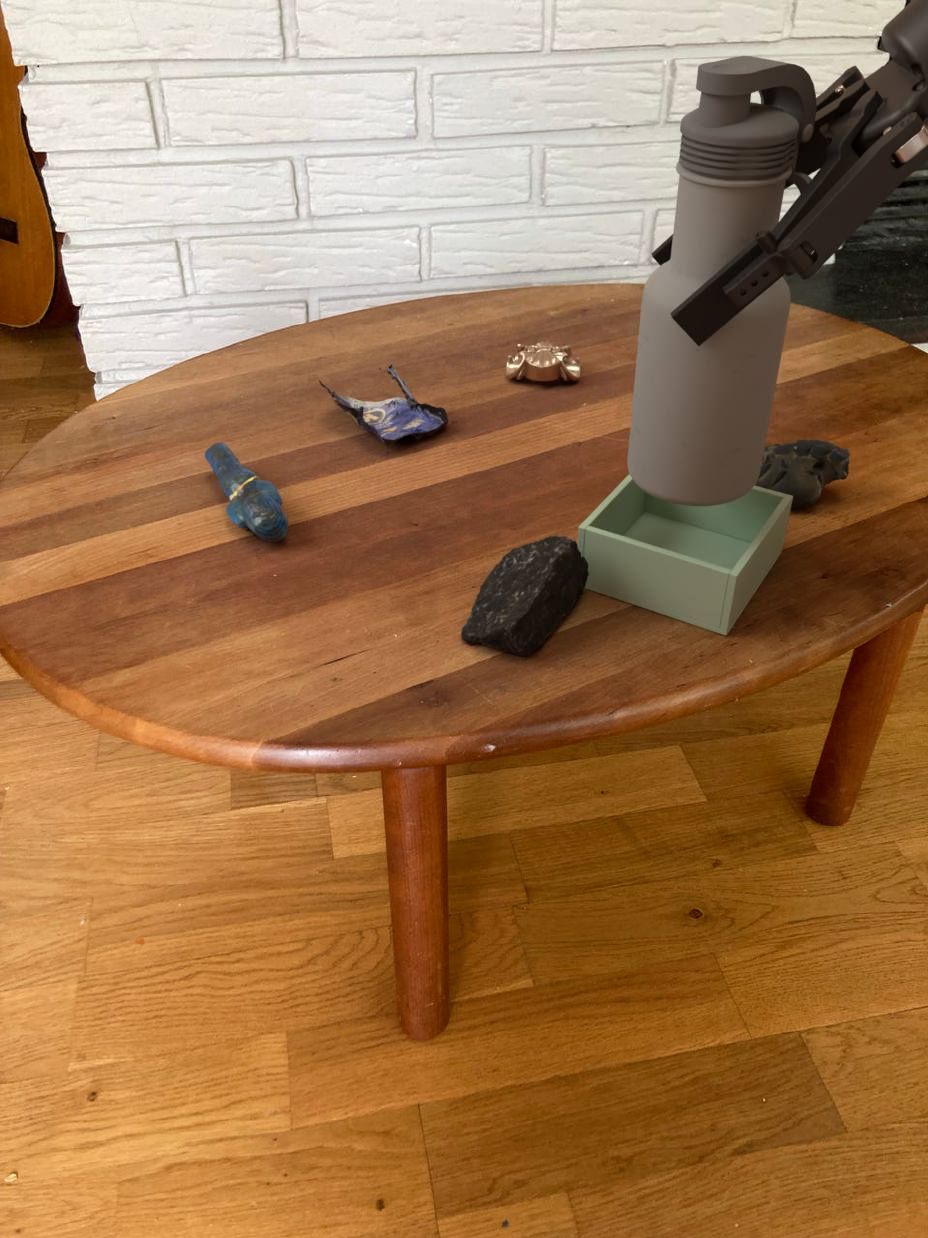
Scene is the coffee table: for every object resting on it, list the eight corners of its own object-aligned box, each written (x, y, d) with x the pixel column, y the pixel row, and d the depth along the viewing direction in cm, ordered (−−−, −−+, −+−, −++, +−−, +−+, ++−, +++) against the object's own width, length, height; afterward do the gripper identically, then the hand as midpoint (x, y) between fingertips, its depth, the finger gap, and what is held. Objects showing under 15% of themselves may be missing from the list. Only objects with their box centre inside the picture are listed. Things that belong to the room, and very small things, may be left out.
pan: (781, 553, 85) (793, 495, 82) (726, 636, 77) (737, 576, 74) (640, 511, 91) (646, 455, 87) (574, 585, 82) (578, 526, 79)
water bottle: (689, 430, 84) (740, 39, 66) (788, 477, 78) (873, 62, 60) (599, 472, 79) (628, 63, 62) (697, 527, 73) (760, 90, 56)
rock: (448, 642, 77) (446, 578, 73) (506, 570, 84) (507, 509, 81) (535, 669, 74) (537, 605, 71) (588, 593, 82) (592, 530, 78)
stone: (685, 472, 96) (691, 420, 93) (833, 475, 95) (844, 422, 92) (691, 512, 91) (698, 458, 88) (848, 515, 90) (860, 461, 86)
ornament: (580, 363, 115) (582, 331, 112) (579, 391, 109) (581, 358, 107) (508, 361, 115) (508, 329, 113) (503, 388, 110) (504, 356, 108)
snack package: (423, 392, 110) (315, 406, 107) (426, 338, 105) (312, 352, 102) (458, 461, 102) (342, 479, 99) (462, 407, 98) (340, 424, 95)
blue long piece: (202, 481, 97) (261, 566, 87) (184, 451, 94) (242, 535, 85) (246, 455, 98) (309, 536, 88) (229, 424, 95) (292, 504, 85)
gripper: (884, -47, 67) (622, 205, 78) (1021, 9, 49) (657, 327, 60) (945, 44, 70) (685, 275, 81) (1095, 128, 53) (736, 411, 63)
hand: (673, 297), depth 70 cm, fingers closed on water bottle, 10 cm apart
